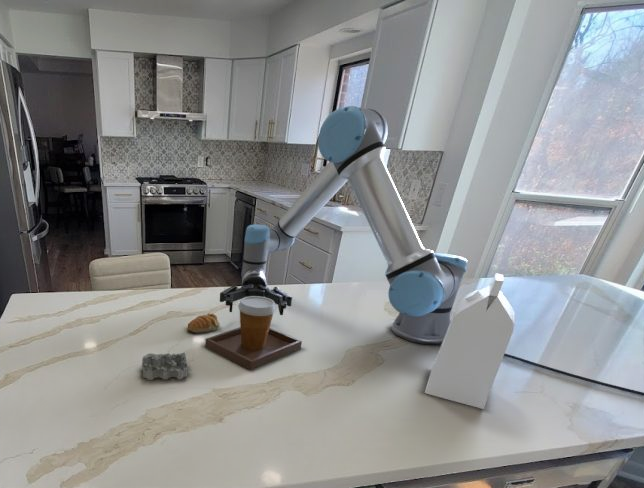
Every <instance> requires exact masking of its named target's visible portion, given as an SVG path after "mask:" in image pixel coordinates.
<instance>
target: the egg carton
mask: <svg viewBox="0 0 644 488" xmlns="http://www.w3.org/2000/svg"><path fill="white" fill-rule="evenodd" d="M141 369H142V375H143V376H142V378H143V379H147V380H148V381H153V380H155V379H156V378H157V379H158V378H159V379H162V380H169V379H170V378H175V379H177V380H182V379H183V378H185V377H187V375H188V373H187V371H188V369H189V368H188V361H187V354H186V352H181V353H177V354H175V353H172V354H170V353H169V352H168V353H159V354H158V353H157V354H156V353H152V352H151V353H147V354H145V355H143V356H142V359H141Z"/></svg>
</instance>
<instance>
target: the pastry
mask: <svg viewBox="0 0 644 488" xmlns="http://www.w3.org/2000/svg"><path fill="white" fill-rule="evenodd" d="M220 325H221V324H220V322H219V319H218V316H217V315H215V314H214V313H207V314H202V315H199V316H197V317H195V318H194V319H192V320H191V321H189V323H187V328H186V329H187V330H188V331H190V332H193V333H196V334H201V333H208V332H209V333H210V332H213V331H217V330H218V329H219V328H220Z"/></svg>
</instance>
